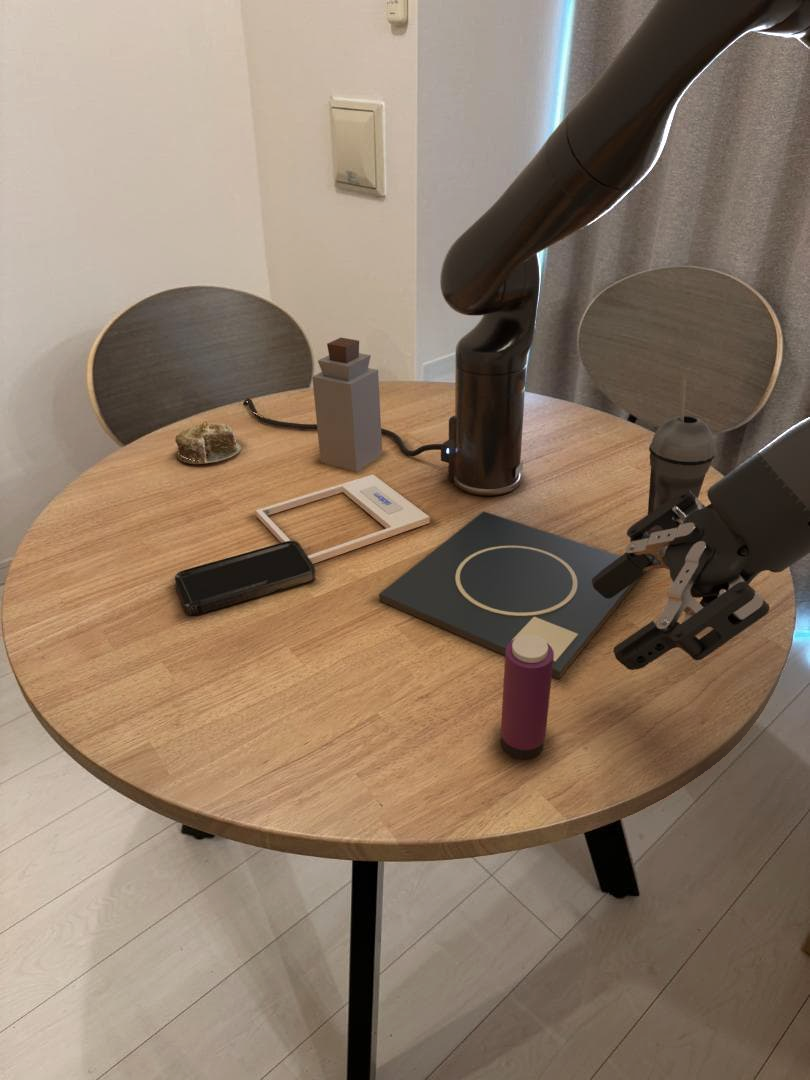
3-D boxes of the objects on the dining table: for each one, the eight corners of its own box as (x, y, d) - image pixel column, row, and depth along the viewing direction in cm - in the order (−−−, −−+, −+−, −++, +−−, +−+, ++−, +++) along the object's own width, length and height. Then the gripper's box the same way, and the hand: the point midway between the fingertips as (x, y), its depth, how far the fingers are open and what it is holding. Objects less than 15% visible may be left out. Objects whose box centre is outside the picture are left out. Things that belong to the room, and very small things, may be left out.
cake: (163, 462, 115) (155, 429, 112) (209, 439, 122) (202, 408, 119) (209, 471, 110) (201, 437, 107) (254, 446, 117) (248, 414, 114)
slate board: (379, 600, 82) (378, 592, 81) (483, 517, 97) (483, 510, 96) (559, 679, 70) (560, 670, 70) (646, 571, 85) (647, 563, 85)
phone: (172, 573, 85) (295, 538, 91) (175, 581, 86) (297, 546, 91) (186, 610, 79) (317, 570, 84) (188, 618, 80) (318, 578, 85)
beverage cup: (700, 553, 88) (735, 394, 77) (637, 548, 89) (663, 391, 79) (692, 522, 94) (724, 371, 83) (633, 518, 95) (657, 368, 85)
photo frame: (429, 515, 95) (302, 559, 87) (429, 522, 96) (303, 567, 88) (372, 473, 106) (255, 509, 98) (373, 480, 106) (256, 516, 98)
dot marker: (491, 747, 64) (496, 649, 58) (513, 720, 66) (520, 624, 60) (531, 767, 62) (540, 668, 56) (552, 739, 64) (563, 641, 58)
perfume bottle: (382, 454, 114) (376, 339, 104) (356, 472, 109) (348, 352, 99) (347, 445, 117) (338, 332, 107) (320, 462, 112) (309, 345, 102)
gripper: (731, 414, 55) (562, 545, 61) (816, 509, 43) (595, 659, 49) (786, 477, 58) (619, 596, 64) (880, 583, 45) (663, 716, 52)
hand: (609, 623), depth 57 cm, fingers open, 8 cm apart
